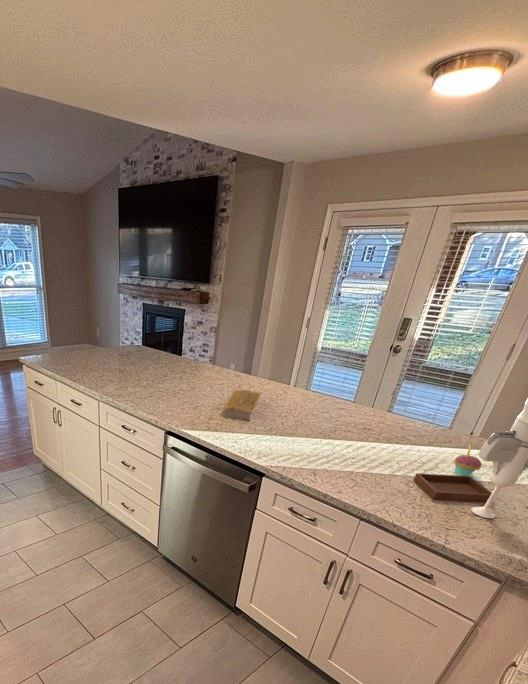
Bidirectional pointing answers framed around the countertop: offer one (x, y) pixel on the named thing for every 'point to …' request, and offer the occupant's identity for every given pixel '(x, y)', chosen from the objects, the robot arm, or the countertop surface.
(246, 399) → the rafter model
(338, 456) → the countertop surface
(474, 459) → the cupcake
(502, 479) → the champagne flute
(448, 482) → the tray
